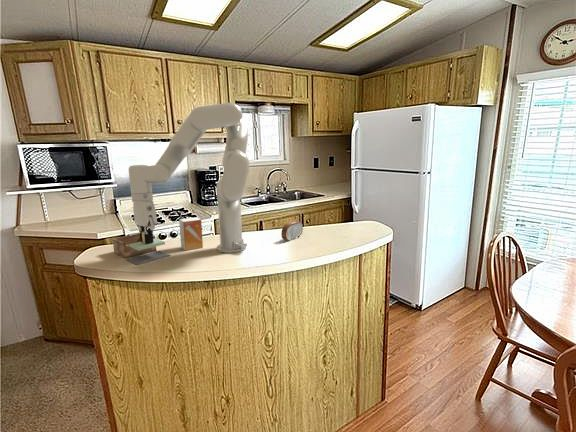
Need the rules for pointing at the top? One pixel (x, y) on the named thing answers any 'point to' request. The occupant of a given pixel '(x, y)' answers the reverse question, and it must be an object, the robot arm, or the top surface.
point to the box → (127, 252)
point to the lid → (142, 245)
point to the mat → (147, 257)
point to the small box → (191, 233)
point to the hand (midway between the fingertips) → (147, 242)
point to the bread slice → (292, 230)
